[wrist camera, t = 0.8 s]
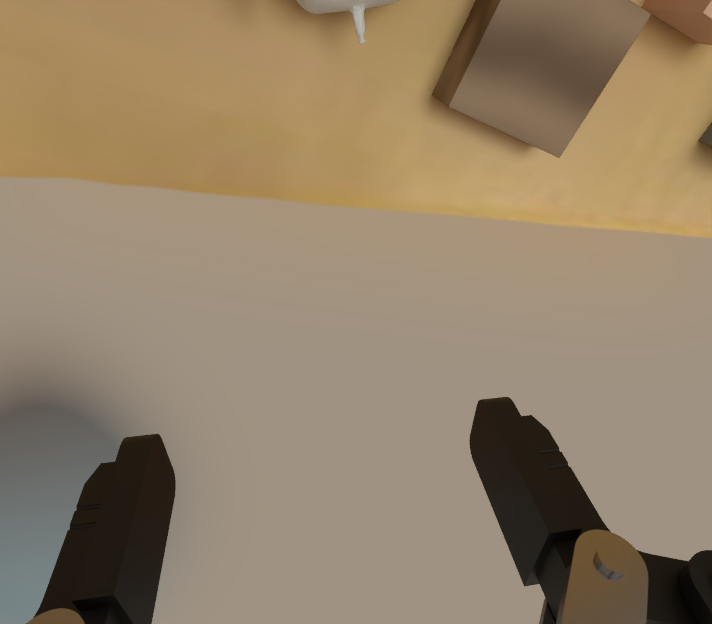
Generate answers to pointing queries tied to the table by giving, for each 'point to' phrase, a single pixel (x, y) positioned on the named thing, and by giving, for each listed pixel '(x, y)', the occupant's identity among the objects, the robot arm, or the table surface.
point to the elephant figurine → (356, 3)
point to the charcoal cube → (707, 136)
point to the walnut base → (537, 64)
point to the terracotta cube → (685, 17)
